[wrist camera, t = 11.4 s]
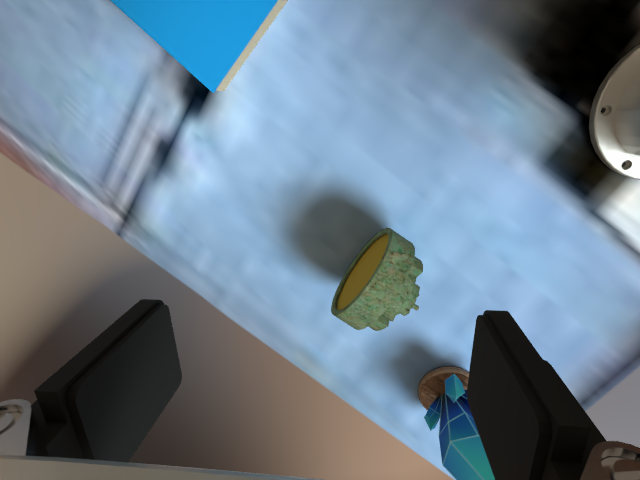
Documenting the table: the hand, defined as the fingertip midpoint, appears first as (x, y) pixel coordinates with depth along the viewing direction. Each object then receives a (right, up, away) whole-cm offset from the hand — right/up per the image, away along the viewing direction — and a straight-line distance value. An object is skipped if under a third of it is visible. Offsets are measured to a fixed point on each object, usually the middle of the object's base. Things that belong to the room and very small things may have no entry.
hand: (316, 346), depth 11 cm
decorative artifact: (+8, 0, +30) cm, 30 cm away
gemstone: (+16, -15, +34) cm, 40 cm away
